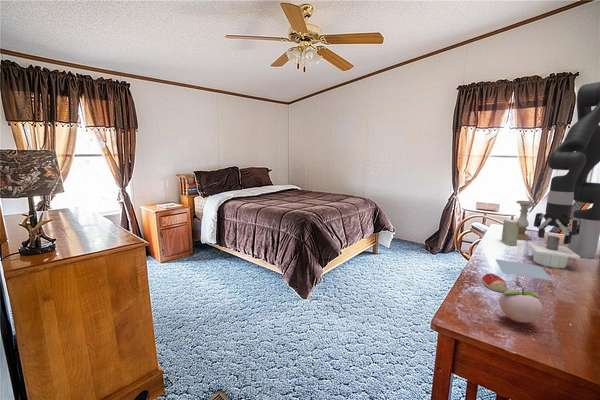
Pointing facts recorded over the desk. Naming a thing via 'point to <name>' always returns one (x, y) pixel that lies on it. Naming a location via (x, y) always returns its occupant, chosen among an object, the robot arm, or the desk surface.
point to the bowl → (550, 260)
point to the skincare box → (510, 232)
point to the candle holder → (523, 220)
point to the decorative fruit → (521, 305)
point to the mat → (523, 269)
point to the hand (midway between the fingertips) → (553, 240)
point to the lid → (553, 248)
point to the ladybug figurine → (494, 282)
